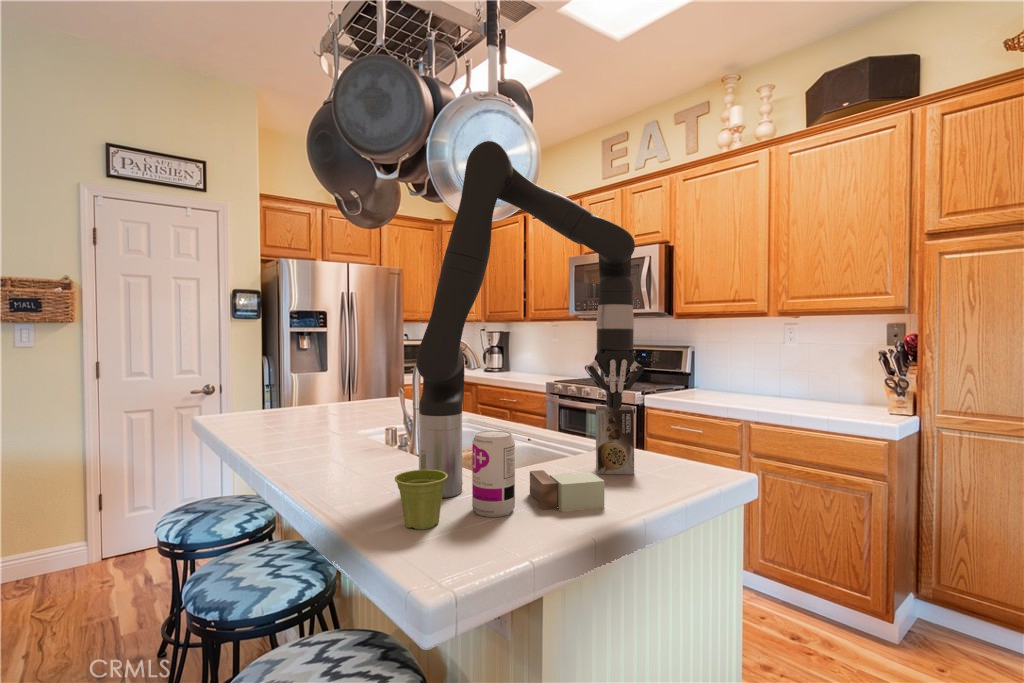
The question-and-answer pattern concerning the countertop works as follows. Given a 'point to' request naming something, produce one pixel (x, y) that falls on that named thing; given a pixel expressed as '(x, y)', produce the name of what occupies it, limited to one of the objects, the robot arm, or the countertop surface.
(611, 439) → the coffee box
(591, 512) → the countertop surface
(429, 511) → the plant pot
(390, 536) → the countertop surface
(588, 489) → the block
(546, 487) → the brown wooden block
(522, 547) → the countertop surface
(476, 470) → the supplement can
